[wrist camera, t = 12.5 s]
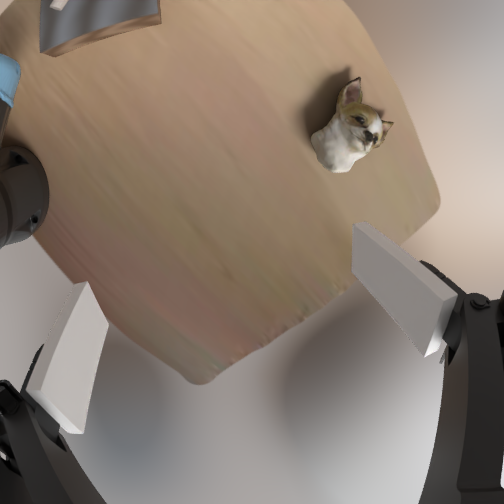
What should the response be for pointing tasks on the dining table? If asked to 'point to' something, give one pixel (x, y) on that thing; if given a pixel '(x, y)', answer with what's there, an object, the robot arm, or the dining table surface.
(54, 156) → the dining table surface
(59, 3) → the pipe connector
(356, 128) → the ceramic sculpture
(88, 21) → the block
